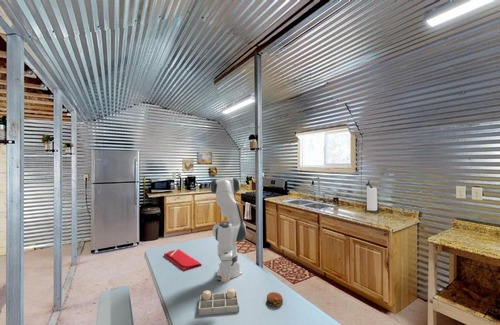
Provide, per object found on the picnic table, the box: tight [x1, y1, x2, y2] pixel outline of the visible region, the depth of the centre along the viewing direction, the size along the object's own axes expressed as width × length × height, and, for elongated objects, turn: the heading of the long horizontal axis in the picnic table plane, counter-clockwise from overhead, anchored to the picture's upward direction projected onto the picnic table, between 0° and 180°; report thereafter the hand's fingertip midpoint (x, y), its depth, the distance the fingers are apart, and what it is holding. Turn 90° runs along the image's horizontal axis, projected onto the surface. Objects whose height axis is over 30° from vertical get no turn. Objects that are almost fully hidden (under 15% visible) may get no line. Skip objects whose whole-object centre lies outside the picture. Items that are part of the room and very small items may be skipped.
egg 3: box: [226, 288, 236, 299], centre depth 140 cm, size 5×5×6 cm
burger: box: [266, 291, 284, 307], centre depth 140 cm, size 10×9×5 cm
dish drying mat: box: [163, 248, 203, 272], centre depth 201 cm, size 16×41×4 cm, turn 41°
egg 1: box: [202, 290, 212, 301], centre depth 139 cm, size 5×5×6 cm
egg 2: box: [221, 271, 231, 283], centre depth 135 cm, size 5×5×6 cm
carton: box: [198, 291, 240, 316], centre depth 136 cm, size 15×22×4 cm
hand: (225, 276), depth 134 cm, fingers closed on egg 2, 5 cm apart
